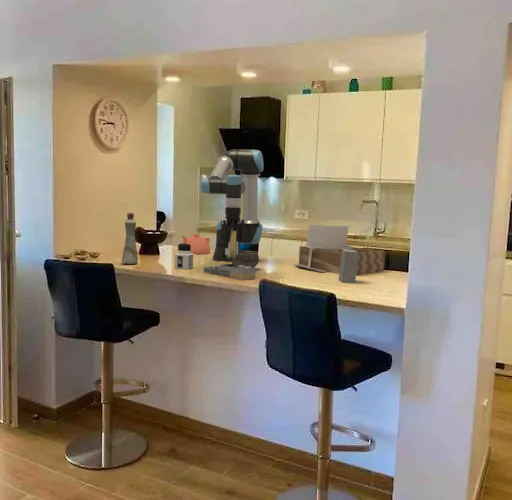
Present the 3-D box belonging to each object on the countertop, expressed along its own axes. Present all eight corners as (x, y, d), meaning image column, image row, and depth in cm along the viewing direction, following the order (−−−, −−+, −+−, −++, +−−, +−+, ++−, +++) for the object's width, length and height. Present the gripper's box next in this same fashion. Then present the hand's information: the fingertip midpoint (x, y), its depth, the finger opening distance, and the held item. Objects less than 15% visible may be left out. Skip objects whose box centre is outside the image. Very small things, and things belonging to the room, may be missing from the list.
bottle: (117, 263, 309) (118, 211, 306) (127, 262, 318) (128, 211, 315) (131, 265, 306) (132, 212, 303) (141, 263, 314) (142, 212, 312)
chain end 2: (231, 274, 288) (232, 262, 287) (255, 279, 275) (256, 266, 274) (218, 275, 282) (219, 263, 282) (242, 280, 269) (243, 267, 268)
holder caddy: (332, 264, 341) (333, 244, 340) (383, 272, 314) (385, 251, 313) (298, 267, 321) (299, 246, 320) (350, 276, 294) (351, 253, 293)
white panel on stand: (327, 261, 336) (331, 222, 332) (355, 268, 320) (359, 227, 317) (293, 264, 318) (297, 222, 314) (321, 271, 302) (325, 227, 298)
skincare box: (338, 281, 278) (339, 248, 276) (352, 281, 279) (354, 249, 277) (342, 284, 270) (344, 250, 268) (357, 284, 270) (359, 251, 269)
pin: (237, 259, 281) (238, 230, 279) (230, 259, 278) (231, 231, 277) (231, 258, 284) (232, 230, 283) (224, 258, 281) (225, 230, 280)
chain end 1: (216, 270, 297) (216, 264, 296) (242, 276, 282) (243, 269, 281) (203, 272, 291) (204, 265, 291) (229, 277, 276) (229, 270, 276)
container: (188, 269, 298) (189, 244, 296) (174, 268, 299) (174, 243, 298) (193, 267, 305) (193, 243, 304) (179, 266, 307) (179, 242, 305)
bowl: (261, 269, 308) (262, 251, 307) (252, 273, 293) (253, 253, 292) (237, 267, 312) (238, 249, 311) (227, 271, 298) (227, 251, 297)
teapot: (191, 257, 348) (191, 235, 347) (171, 255, 358) (172, 233, 357) (218, 255, 368) (218, 234, 367) (198, 252, 378) (199, 232, 377)
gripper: (241, 206, 287) (239, 253, 289) (214, 206, 275) (212, 254, 278) (251, 207, 282) (249, 254, 284) (224, 207, 270) (222, 256, 272)
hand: (231, 254), depth 281 cm, fingers closed on pin, 4 cm apart
